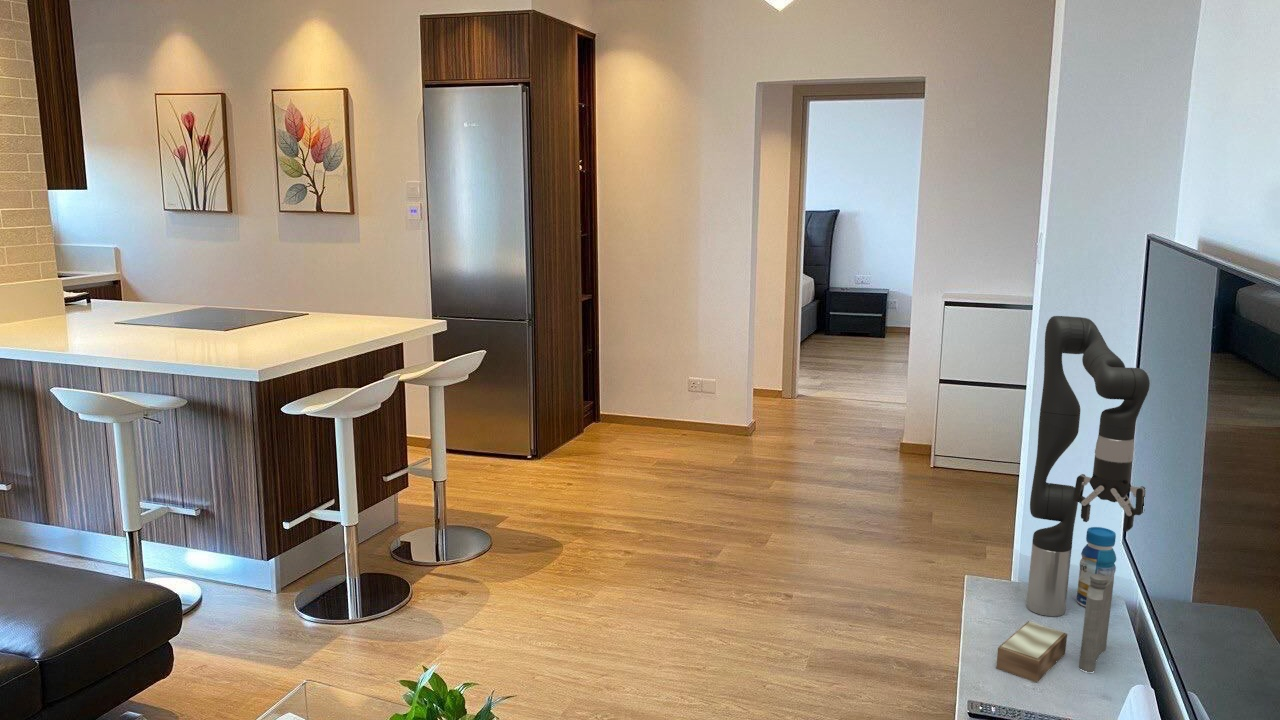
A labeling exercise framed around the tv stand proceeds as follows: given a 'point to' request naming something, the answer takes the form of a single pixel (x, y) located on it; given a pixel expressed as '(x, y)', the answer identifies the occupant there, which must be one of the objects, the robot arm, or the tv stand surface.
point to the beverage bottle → (1096, 559)
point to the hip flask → (1096, 620)
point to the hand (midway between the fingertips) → (1105, 525)
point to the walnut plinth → (1031, 651)
